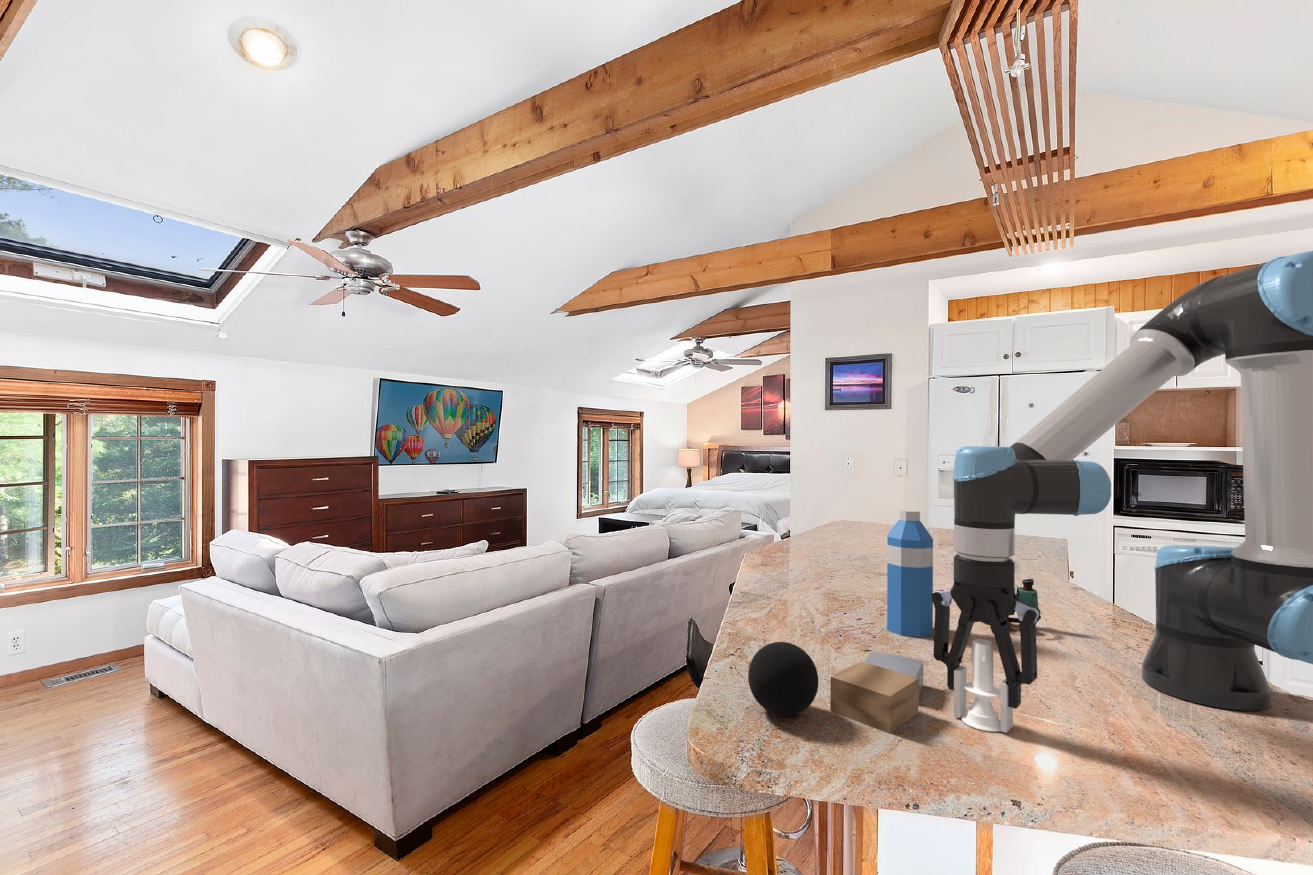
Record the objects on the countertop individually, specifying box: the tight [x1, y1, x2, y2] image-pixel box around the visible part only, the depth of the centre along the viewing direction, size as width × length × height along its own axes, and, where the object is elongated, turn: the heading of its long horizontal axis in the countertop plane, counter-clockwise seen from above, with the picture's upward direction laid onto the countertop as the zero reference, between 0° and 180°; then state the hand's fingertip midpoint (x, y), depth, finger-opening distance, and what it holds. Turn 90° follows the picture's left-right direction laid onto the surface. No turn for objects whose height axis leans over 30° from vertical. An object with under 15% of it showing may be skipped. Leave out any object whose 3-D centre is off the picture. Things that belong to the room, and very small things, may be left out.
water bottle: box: [886, 508, 934, 638], centre depth 124 cm, size 9×9×25 cm
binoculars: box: [1007, 578, 1042, 633], centre depth 125 cm, size 9×11×10 cm
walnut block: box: [829, 661, 920, 734], centre depth 87 cm, size 9×9×5 cm
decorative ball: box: [747, 641, 819, 717], centre depth 87 cm, size 10×10×10 cm
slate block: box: [863, 650, 924, 695], centre depth 95 cm, size 8×8×4 cm
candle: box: [961, 636, 1001, 733], centre depth 84 cm, size 5×5×12 cm
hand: (982, 720), depth 84 cm, fingers closed on candle, 5 cm apart
